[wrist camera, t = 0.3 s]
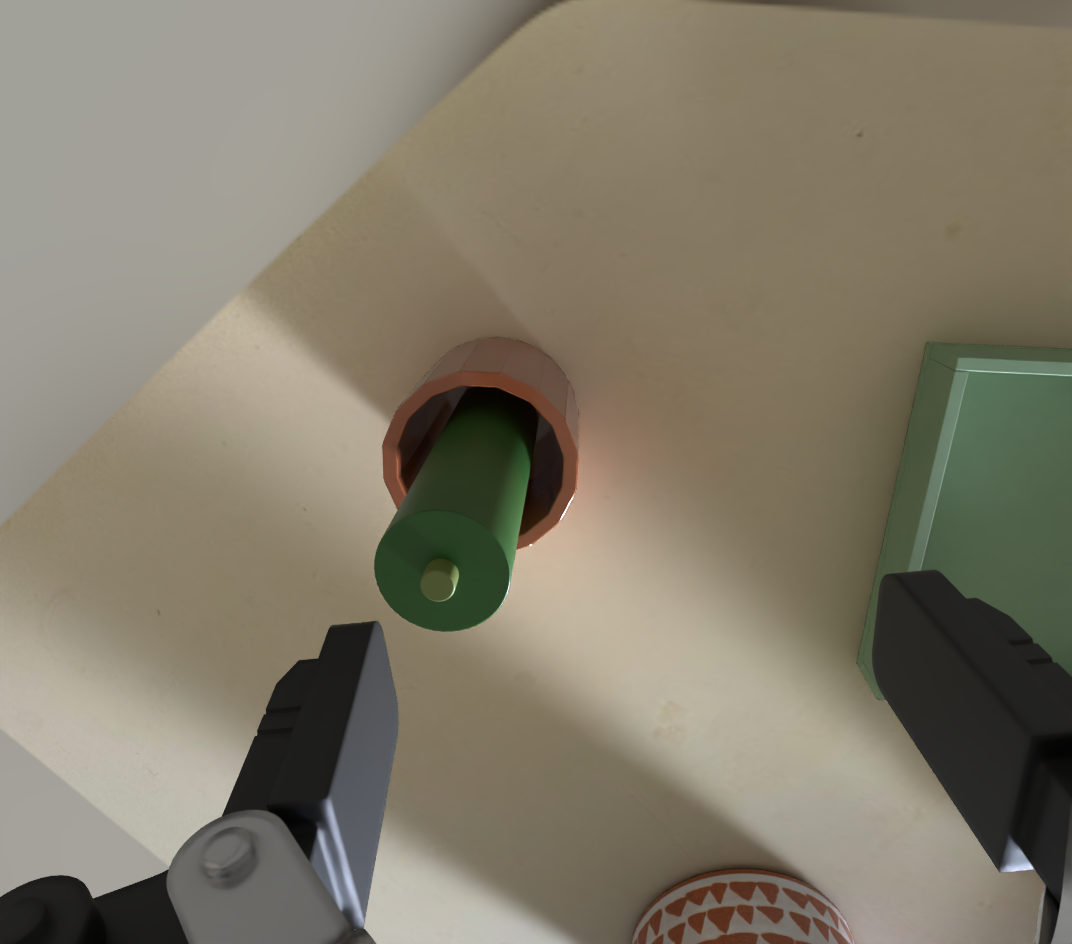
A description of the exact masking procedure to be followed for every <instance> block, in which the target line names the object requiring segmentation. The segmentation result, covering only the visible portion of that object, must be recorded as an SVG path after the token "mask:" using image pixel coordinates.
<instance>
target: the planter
mask: <svg viewBox="0 0 1072 944" xmlns="http://www.w3.org/2000/svg"><path fill="white" fill-rule="evenodd" d="M632 944H855V943H854V940H853V937H852V935H851V932H850V930H849V927H848V925H847V923H846V921H845V919H844V917H843V916H842V914H841V913H840V911H839V910H838V909H837V907H836V906H835V905H834V904H833V903H832V902H831V901H830V900H829V899H828V898H827V897H825V896H824V895H823V894H822V893H820V892H819V891H818V890H816V889H814V888H813V887H811V886H809V885H808V884H806V883H804V882H802V881H799V880H797V879H794V878H792V877H789V876H786V875H782V874H779V873H775V872H770V871H763V870H754V869H732V870H722V871H716V872H711V873H707V874H703V875H700V876H696V877H694V878H691V879H688V880H686V881H684V882H682V883H680V884H678V885H676V886H674V887H672V888H671V889H669V890H668V891H666V892H665V893H663V894H662V895H661V896H659V897H658V898H657V899H656V900H655V901H654V902H653V903H652V904H651V905H650V906H649V907H648V908H647V910H646V911H645V912H644V914H643V915H642V917H641V918H640V920H639V922H638V924H637V926H636V928H635V931H634V934H633V938H632Z"/></svg>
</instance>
